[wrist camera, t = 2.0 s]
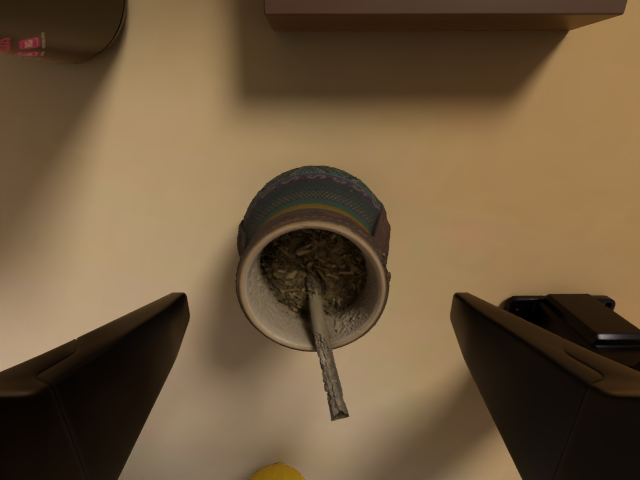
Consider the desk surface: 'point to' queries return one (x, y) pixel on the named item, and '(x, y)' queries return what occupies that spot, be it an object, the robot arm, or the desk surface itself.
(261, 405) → the desk surface
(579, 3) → the step shelf
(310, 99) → the desk surface
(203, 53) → the desk surface
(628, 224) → the desk surface
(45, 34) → the supplement container
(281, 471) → the lemon
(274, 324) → the mate gourd
